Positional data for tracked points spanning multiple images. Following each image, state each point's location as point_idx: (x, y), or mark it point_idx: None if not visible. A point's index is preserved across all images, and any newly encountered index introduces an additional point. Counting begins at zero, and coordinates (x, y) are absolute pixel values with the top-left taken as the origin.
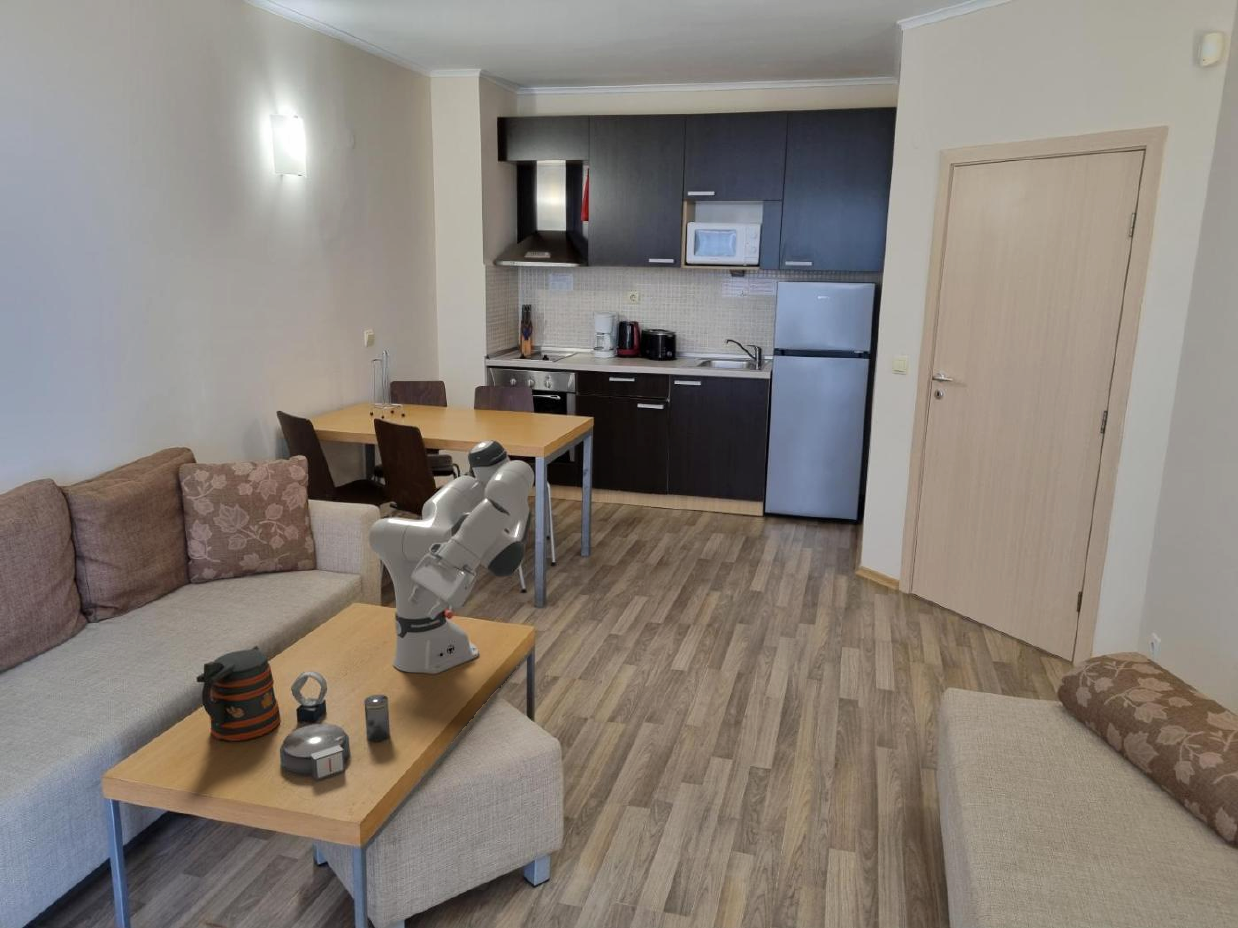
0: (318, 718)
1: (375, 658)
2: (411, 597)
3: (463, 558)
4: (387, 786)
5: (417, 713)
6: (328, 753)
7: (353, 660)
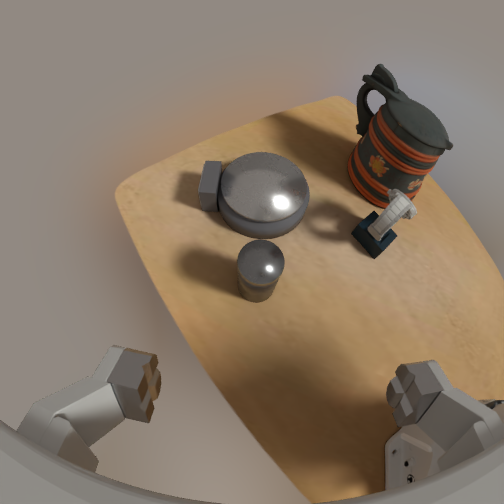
0: (359, 241)
1: (469, 374)
2: (434, 378)
3: None
4: (133, 234)
5: (284, 370)
6: (205, 176)
7: (476, 345)
